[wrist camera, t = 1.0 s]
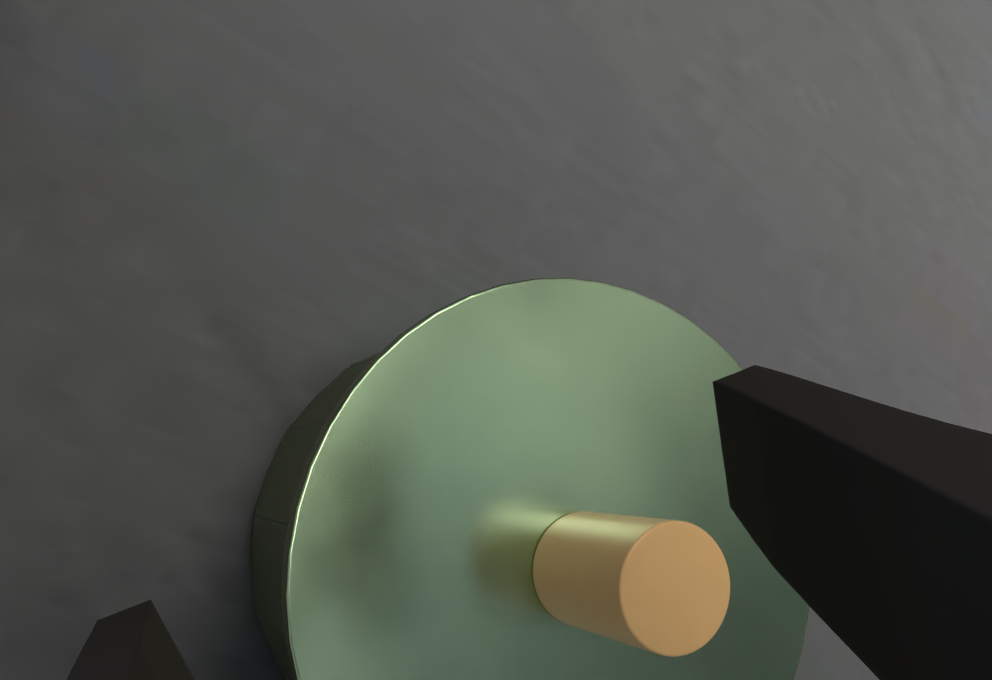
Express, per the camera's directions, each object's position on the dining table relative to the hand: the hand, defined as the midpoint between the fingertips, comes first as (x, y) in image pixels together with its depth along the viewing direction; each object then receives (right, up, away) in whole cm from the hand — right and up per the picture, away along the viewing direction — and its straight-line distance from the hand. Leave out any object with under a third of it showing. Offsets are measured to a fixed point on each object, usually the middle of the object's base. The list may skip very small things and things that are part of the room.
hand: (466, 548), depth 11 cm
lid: (+2, -2, +9) cm, 10 cm away
